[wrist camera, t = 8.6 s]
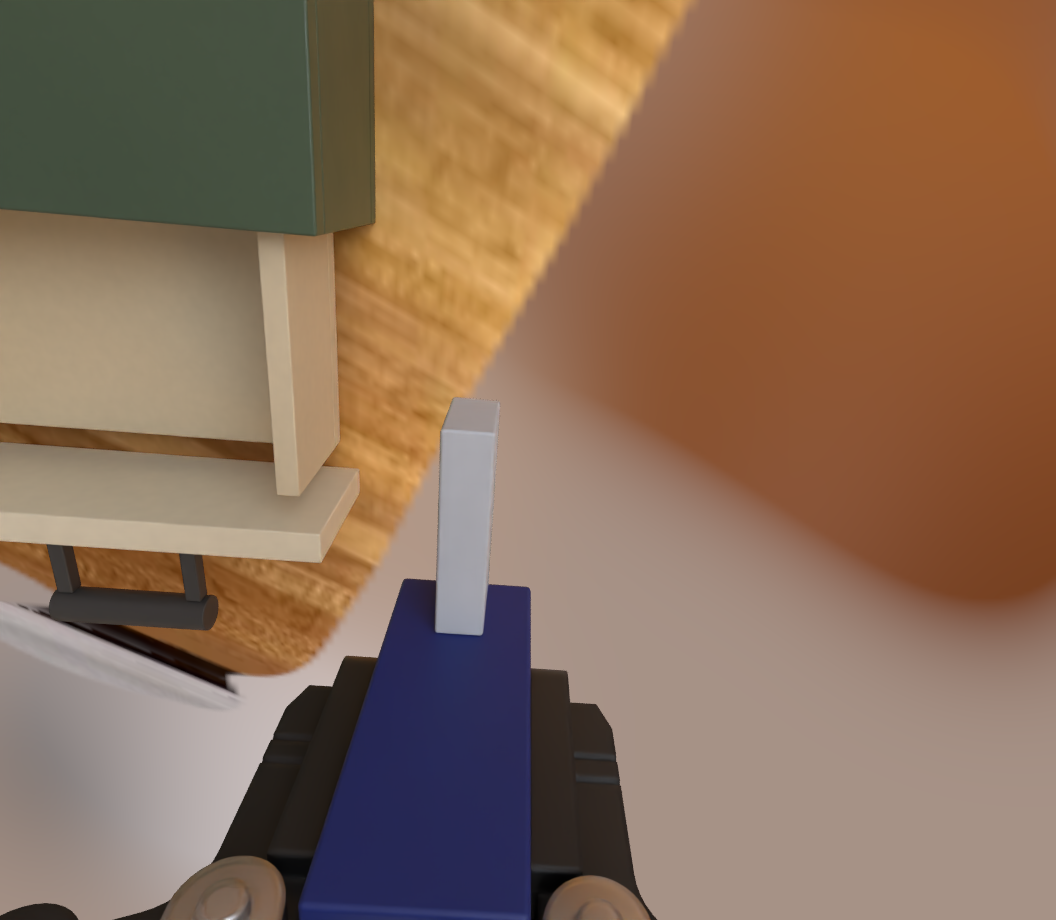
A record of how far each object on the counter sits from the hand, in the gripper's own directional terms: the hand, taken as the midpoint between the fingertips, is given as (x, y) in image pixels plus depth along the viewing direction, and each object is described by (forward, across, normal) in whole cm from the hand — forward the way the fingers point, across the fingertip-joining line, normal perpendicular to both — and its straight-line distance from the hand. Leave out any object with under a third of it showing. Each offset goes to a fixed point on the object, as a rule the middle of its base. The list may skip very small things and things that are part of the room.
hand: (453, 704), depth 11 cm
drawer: (+17, +14, 0) cm, 22 cm away
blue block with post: (+2, 0, -2) cm, 2 cm away
